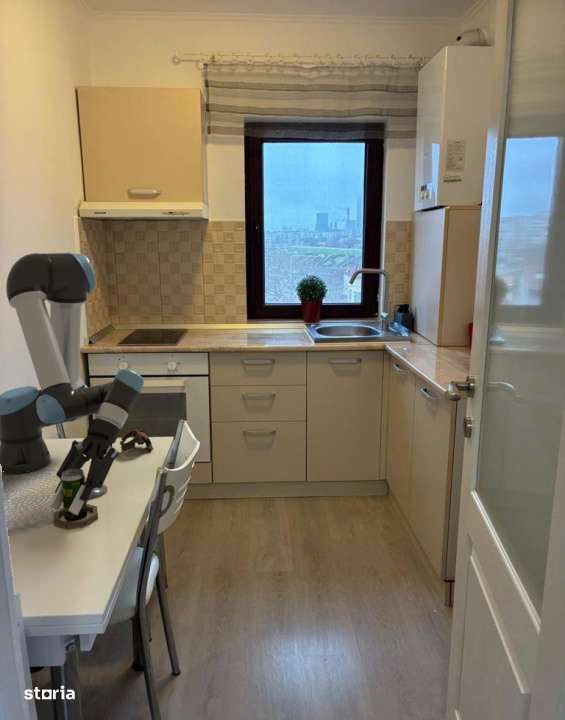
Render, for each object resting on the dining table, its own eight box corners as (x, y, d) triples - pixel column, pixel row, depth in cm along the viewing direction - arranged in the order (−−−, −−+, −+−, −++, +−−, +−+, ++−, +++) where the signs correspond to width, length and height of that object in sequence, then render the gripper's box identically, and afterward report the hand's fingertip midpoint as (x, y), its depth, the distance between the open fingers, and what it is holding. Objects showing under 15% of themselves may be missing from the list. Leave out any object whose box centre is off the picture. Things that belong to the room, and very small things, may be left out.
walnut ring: (44, 523, 131) (44, 518, 131) (76, 506, 140) (75, 501, 140) (76, 532, 127) (75, 526, 127) (106, 514, 136) (106, 508, 136)
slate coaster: (64, 495, 147) (64, 493, 146) (89, 483, 155) (89, 481, 154) (90, 502, 143) (90, 499, 143) (114, 488, 151) (114, 486, 151)
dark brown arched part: (154, 456, 176) (140, 438, 172) (128, 469, 177) (114, 450, 173) (157, 435, 187) (144, 417, 183) (133, 447, 188) (119, 429, 184)
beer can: (76, 511, 138) (72, 466, 135) (92, 516, 135) (89, 470, 133) (59, 520, 133) (55, 474, 130) (75, 525, 130) (72, 478, 128)
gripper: (143, 436, 140) (102, 523, 129) (88, 426, 148) (44, 508, 137) (128, 422, 135) (83, 512, 123) (71, 412, 142) (25, 497, 131)
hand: (63, 510), depth 130 cm, fingers closed on beer can, 5 cm apart
